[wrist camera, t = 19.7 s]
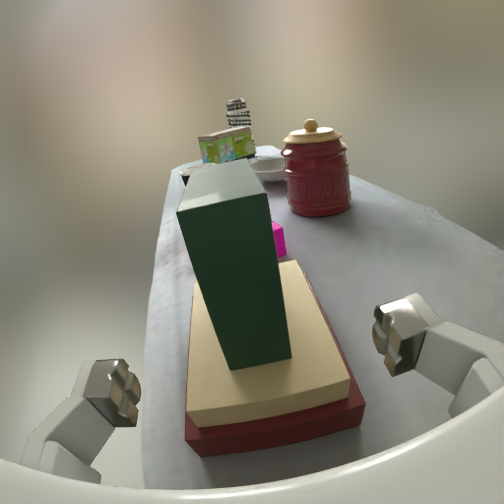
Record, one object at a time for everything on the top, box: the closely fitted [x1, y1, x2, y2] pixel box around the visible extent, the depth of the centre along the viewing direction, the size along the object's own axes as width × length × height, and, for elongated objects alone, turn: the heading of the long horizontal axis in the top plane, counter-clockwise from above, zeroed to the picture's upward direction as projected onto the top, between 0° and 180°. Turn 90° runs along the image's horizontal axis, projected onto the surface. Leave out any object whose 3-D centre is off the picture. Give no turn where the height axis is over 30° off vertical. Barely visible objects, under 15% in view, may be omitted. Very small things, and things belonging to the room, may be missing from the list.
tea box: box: [198, 127, 256, 164], centre depth 94 cm, size 15×10×15 cm, turn 134°
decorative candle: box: [226, 98, 257, 157], centre depth 111 cm, size 9×9×25 cm
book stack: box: [185, 260, 366, 457], centre depth 26 cm, size 18×13×6 cm
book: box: [176, 158, 292, 371], centre depth 21 cm, size 10×5×12 cm, turn 6°
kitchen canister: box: [281, 119, 351, 217], centre depth 55 cm, size 13×13×18 cm
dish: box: [251, 157, 285, 182], centre depth 78 cm, size 18×14×5 cm
